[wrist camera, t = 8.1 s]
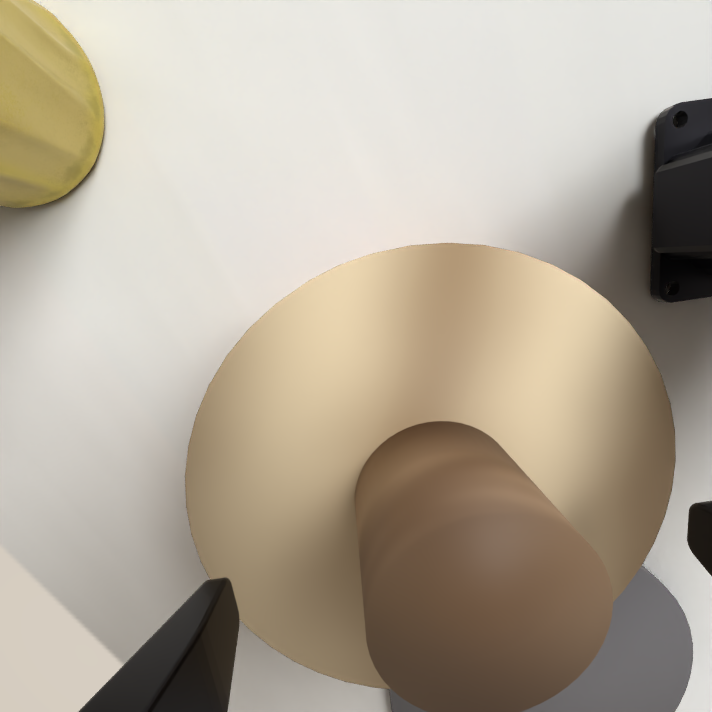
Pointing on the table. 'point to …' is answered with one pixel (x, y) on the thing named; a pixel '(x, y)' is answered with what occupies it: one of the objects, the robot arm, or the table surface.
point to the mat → (628, 658)
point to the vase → (44, 107)
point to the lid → (434, 474)
